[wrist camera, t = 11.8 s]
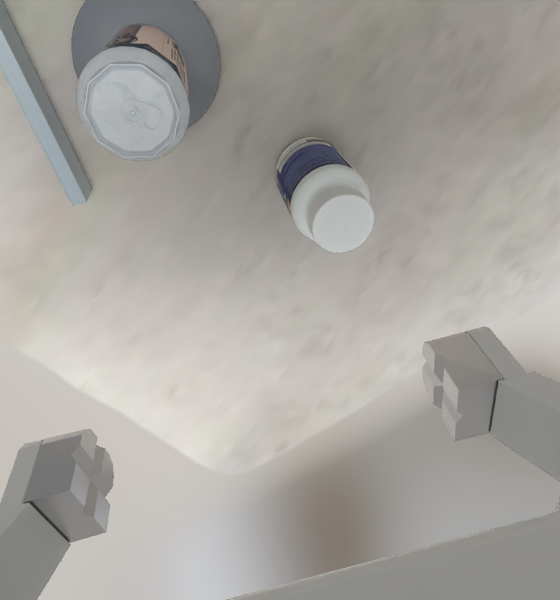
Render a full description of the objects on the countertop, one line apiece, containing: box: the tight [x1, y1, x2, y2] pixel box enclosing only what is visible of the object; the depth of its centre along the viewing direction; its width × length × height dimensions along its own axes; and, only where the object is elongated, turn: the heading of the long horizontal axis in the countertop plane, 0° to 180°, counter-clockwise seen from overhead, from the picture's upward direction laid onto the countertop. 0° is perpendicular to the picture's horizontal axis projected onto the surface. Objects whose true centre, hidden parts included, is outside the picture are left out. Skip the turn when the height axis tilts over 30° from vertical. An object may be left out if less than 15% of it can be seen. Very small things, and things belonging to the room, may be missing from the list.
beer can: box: [76, 23, 190, 161], centre depth 24 cm, size 5×5×12 cm
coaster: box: [72, 0, 220, 128], centre depth 30 cm, size 9×9×1 cm
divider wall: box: [0, 0, 92, 206], centre depth 29 cm, size 24×14×2 cm, turn 101°
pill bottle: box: [275, 137, 374, 253], centre depth 32 cm, size 5×5×10 cm
